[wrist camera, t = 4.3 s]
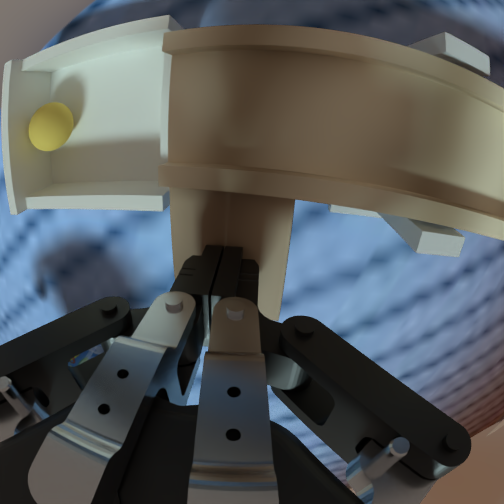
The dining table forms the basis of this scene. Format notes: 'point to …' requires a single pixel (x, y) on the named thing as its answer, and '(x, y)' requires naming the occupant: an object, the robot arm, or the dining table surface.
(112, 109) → the tray
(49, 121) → the ball
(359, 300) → the dining table surface
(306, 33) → the lever
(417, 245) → the stand
